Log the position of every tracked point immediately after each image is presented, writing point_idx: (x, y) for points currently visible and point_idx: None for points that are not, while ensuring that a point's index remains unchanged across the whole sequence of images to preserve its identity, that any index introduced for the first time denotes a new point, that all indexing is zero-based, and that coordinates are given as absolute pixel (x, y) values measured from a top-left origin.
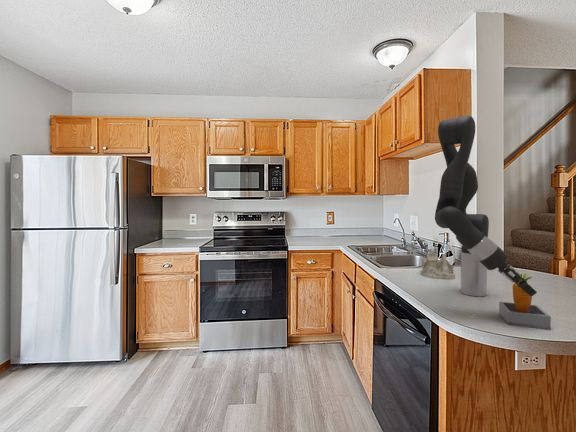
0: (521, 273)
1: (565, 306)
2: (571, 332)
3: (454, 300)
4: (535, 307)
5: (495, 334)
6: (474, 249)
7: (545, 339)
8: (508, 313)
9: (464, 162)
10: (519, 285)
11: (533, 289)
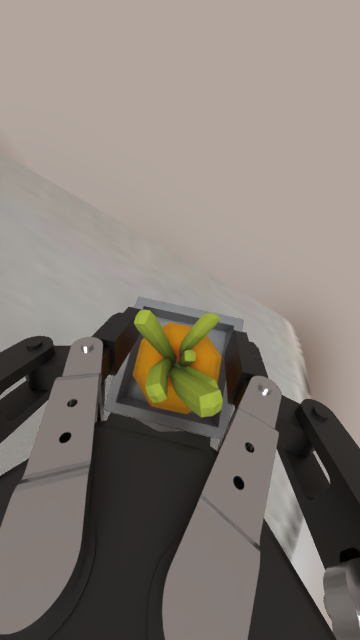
0: (217, 394)
1: (61, 199)
2: (239, 291)
3: None
4: (146, 308)
5: None
6: None
7: (301, 377)
8: None
9: None
10: (310, 456)
11: (247, 344)
